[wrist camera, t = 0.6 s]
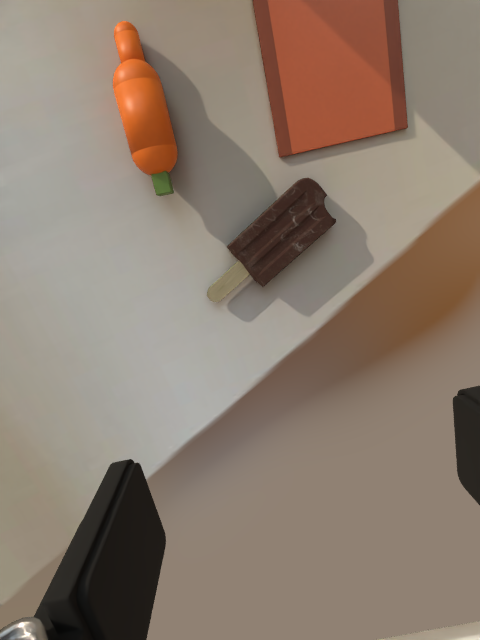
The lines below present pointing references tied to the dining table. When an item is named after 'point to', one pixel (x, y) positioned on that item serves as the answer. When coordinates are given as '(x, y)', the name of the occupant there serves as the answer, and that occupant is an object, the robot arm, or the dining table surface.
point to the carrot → (143, 110)
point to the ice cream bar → (276, 237)
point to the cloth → (331, 70)
